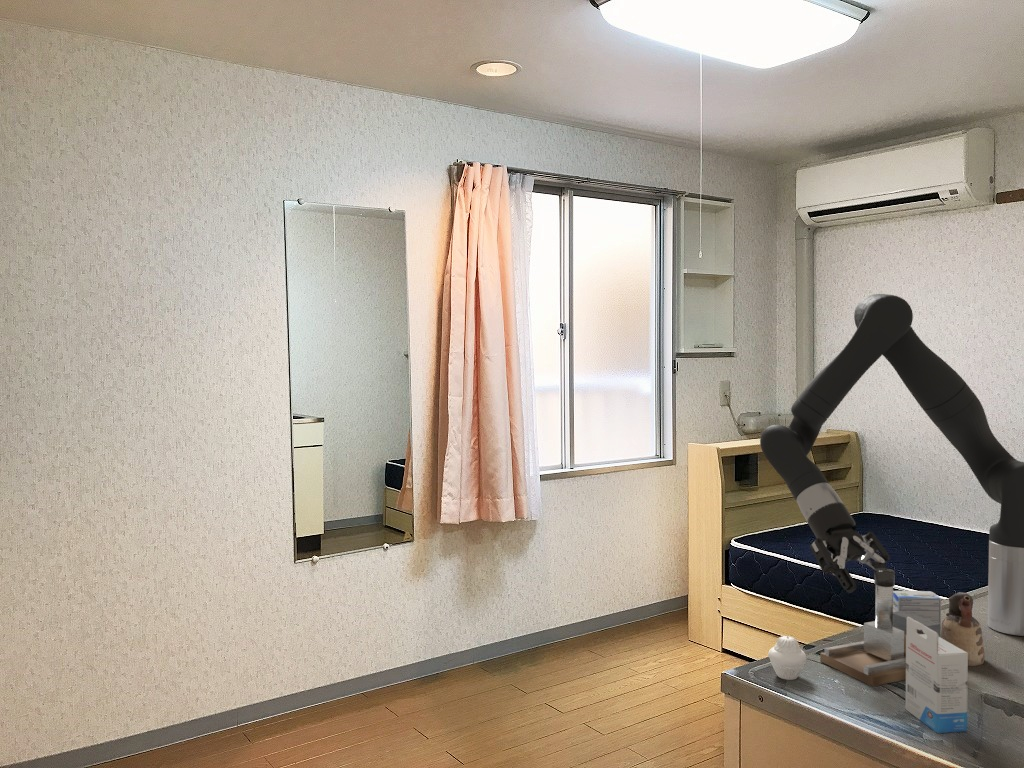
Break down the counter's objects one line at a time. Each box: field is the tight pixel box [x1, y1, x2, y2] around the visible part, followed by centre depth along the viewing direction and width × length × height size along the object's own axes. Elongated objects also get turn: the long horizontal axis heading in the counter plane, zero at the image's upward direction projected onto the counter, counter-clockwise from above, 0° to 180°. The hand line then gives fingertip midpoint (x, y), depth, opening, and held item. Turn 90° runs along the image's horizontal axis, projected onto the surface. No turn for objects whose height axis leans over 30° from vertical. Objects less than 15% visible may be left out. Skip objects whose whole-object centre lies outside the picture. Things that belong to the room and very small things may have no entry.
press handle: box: [863, 567, 904, 661], centre depth 145 cm, size 3×6×15 cm, turn 22°
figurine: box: [941, 591, 985, 667], centre depth 149 cm, size 7×7×12 cm
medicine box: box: [893, 590, 942, 638], centre depth 159 cm, size 8×4×9 cm, turn 84°
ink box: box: [905, 617, 969, 734], centre depth 124 cm, size 9×5×15 cm, turn 5°
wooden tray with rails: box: [819, 634, 906, 687], centre depth 146 cm, size 18×12×5 cm, turn 112°
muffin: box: [768, 635, 807, 681], centre depth 141 cm, size 6×6×7 cm
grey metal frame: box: [824, 611, 942, 675], centre depth 146 cm, size 18×10×6 cm, turn 112°
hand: (871, 587), depth 148 cm, fingers open, 8 cm apart
